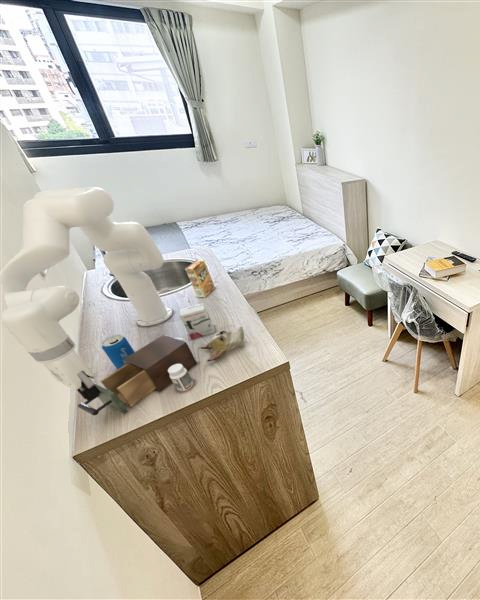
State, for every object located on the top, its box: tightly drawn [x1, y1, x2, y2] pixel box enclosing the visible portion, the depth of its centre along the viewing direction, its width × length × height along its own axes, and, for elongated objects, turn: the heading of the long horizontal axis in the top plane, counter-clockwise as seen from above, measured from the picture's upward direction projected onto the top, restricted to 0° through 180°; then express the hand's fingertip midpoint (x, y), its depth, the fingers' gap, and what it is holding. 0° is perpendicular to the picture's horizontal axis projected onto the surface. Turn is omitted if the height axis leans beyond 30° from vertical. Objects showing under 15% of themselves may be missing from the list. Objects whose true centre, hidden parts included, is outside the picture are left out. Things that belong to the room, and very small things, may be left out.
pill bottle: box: [168, 364, 194, 392], centre depth 101 cm, size 5×5×8 cm
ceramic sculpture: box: [200, 326, 245, 363], centre depth 115 cm, size 11×9×15 cm
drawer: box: [77, 363, 156, 416], centre depth 95 cm, size 17×10×8 cm, turn 158°
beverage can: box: [101, 334, 136, 370], centre depth 107 cm, size 6×6×12 cm
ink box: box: [178, 302, 216, 341], centre depth 123 cm, size 8×5×12 cm, turn 123°
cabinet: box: [123, 334, 198, 393], centre depth 105 cm, size 14×11×10 cm
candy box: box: [184, 259, 216, 298], centre depth 147 cm, size 9×4×15 cm, turn 178°
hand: (93, 395), depth 89 cm, fingers closed
